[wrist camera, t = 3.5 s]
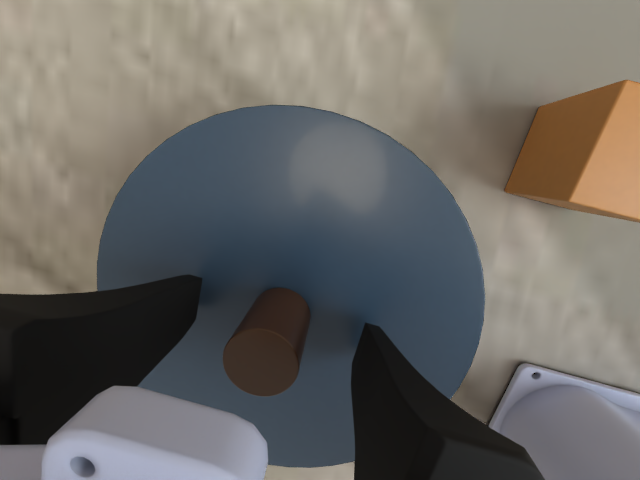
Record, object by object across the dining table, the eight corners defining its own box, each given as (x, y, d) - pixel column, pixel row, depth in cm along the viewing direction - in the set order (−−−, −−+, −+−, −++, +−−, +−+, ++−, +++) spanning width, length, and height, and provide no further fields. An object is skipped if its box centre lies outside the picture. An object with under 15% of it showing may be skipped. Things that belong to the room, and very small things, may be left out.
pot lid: (540, 170, 12) (654, 172, 7) (403, 483, 16) (425, 600, 12) (130, 63, 12) (9, 5, 8) (103, 399, 16) (16, 482, 12)
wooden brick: (613, 125, 15) (736, 106, 11) (572, 210, 17) (666, 227, 12) (538, 106, 16) (626, 78, 11) (503, 191, 17) (568, 201, 12)
